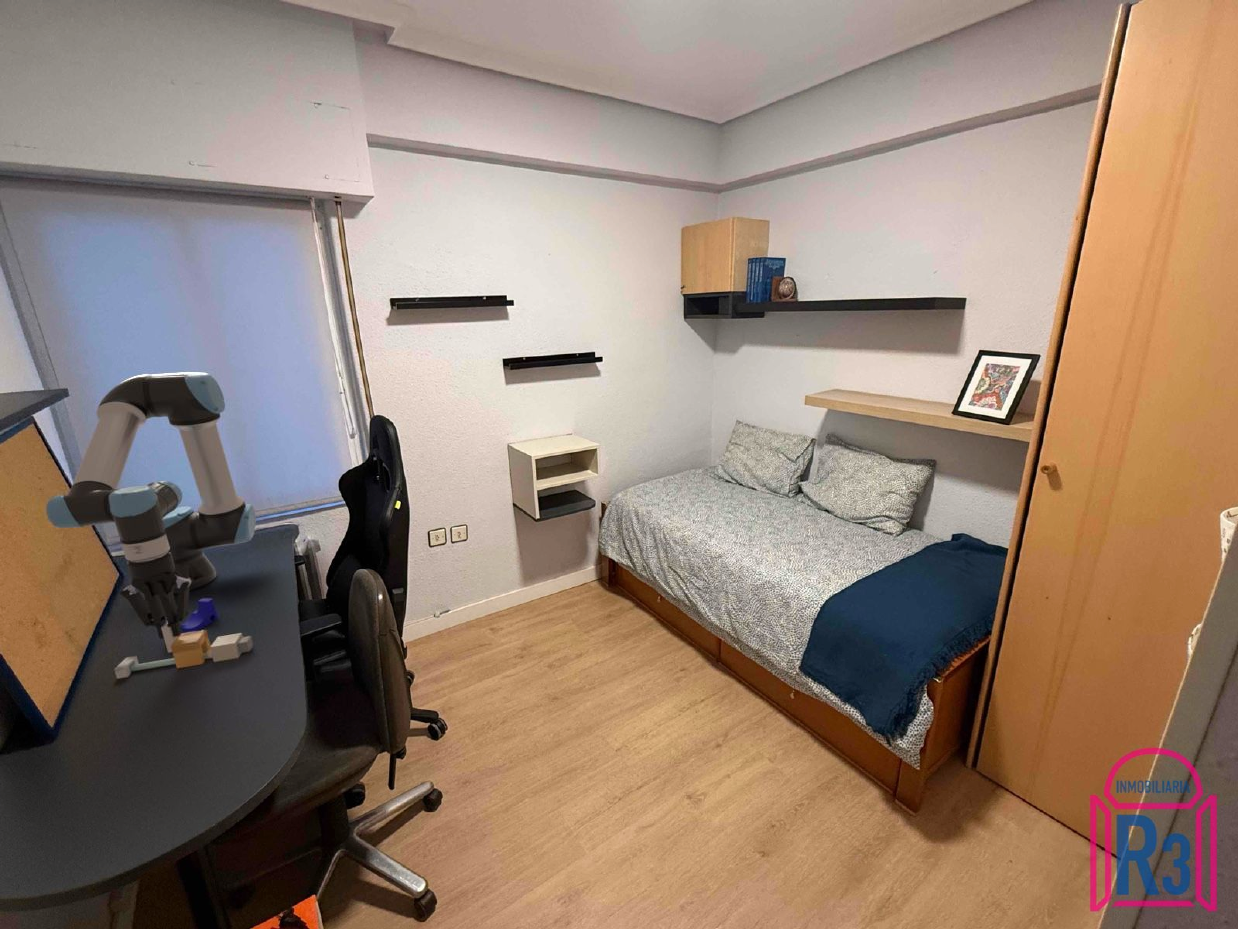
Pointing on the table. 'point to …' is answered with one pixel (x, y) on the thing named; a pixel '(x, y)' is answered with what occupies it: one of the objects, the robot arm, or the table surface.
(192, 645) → the sleeve
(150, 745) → the table surface
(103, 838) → the table surface
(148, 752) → the table surface
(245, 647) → the cord run
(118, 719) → the table surface
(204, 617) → the cable clip
